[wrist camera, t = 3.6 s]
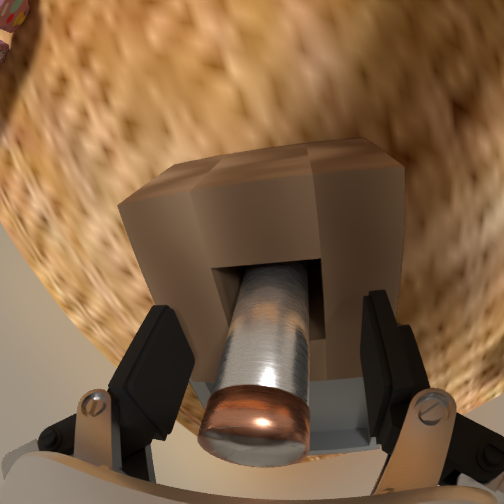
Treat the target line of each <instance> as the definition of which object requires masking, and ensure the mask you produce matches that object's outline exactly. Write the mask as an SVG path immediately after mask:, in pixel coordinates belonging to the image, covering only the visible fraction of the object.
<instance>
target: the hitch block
mask: <svg viewBox="0 0 504 504" xmlns="http://www.w3.org/2000/svg"><path fill="white" fill-rule="evenodd" d="M117 206H118V209H119V212H120V215H121V218H122V220H123V223H124V226H125V229H126V232H127V235H128V237H129V240H130V243H131V245H132V248H133V251H134V253H135V256H136V258H137V261H138V264H139V266H140V269H141V271H142V274H143V276H144V278H145V281H146V283H147V286H148V288H149V290H150V293H151V295H152V298H153V300H154V302H155V304H156V305H168V306H169V307H170V308H171V309H174V311H175V313H176V316H177V318H178V320H179V323H180V325H181V327H182V330H183V332H184V334H185V337H186V339H187V341H188V343H189V346H190V348H191V350H192V352H193V354H194V357H195V364H194V368H193V370H192V373H191V376H190V377H191V379H192V381H193V382H212V383H215V379H216V375H217V372H218V368H219V364H220V361H221V357H222V354H223V350H224V346H225V343H226V339H227V335H228V332H229V328H230V324H231V321H232V317H233V313H234V310H235V306H236V302H237V299H238V295H239V291H240V288H241V284H242V281H243V277H244V273H245V270H246V266H247V265H253V264H264V263H275V262H287V261H297V260H308V259H319V265H309V266H307V269H308V299H309V382H310V381H325V380H337V379H348V378H357V377H363V373H362V367H361V360H360V341H361V327H362V310H363V296H368V293H369V291H374V290H383V289H385V290H386V293H387V296H388V298H389V301H390V304H391V307H392V310H393V313H394V316H395V319H396V313H397V306H398V298H399V290H400V280H401V270H402V258H403V243H404V221H405V167H404V166H403V165H401V164H400V163H399V162H397V161H396V160H395V159H393V158H392V157H391V156H389V155H388V154H387V153H385V152H384V151H383V150H381V149H380V148H378V147H377V146H376V145H374V144H373V143H371V142H370V141H368V140H367V139H365V138H358V139H344V140H332V141H322V142H312V143H303V144H294V145H286V146H278V147H271V148H264V149H257V150H251V151H244V152H238V153H232V154H226V155H221V156H215V157H210V158H205V159H200V160H195V161H190V162H185V163H180V164H175V165H173V166H171V167H170V168H168V169H167V170H166V171H164V172H163V173H161V174H160V175H158V176H157V177H155V178H154V179H153V180H151V181H150V182H148V183H147V184H146V185H144V186H143V187H141V188H140V189H139V190H137V191H136V192H135V193H133V194H132V195H131V196H129V197H128V198H126V199H125V200H124V201H123V202H121V203H120V204H119V205H117Z"/></svg>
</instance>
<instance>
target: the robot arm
mask: <svg viewBox="0 0 504 504" xmlns="http://www.w3.org/2000/svg"><path fill="white" fill-rule="evenodd" d="M360 360H361V367H362V373H363V381H364V388H365V396H366V404H367V413H368V422H369V432H370V437H376V445H377V444H381V446H382V450H383V451H384V452H386V453H387V454H388V455H387V458H386V460H385V463H384V465H383V468H382V470H381V472H380V474H379V477H378V479H377V481H376V483H375V485H374V487H373V490H372V492H371V494H370V496H362V497H351V498H339V499H323V500H268V499H267V500H266V499H251V498H239V497H230V496H221V495H214V494H207V493H201V492H194V491H189V490H184V489H179V488H174V487H169V486H165V485H161V484H156V479H155V473H154V466H153V460H152V452H151V445H150V444H151V442H152V439H157V440H162V441H165V440H166V437H167V434H170V433H171V432H172V429H173V426H174V423H175V420H176V417H177V414H178V411H179V409H180V406H181V403H182V400H183V397H184V394H185V391H186V388H187V385H188V382H189V379H190V376H191V373H192V370H193V368H194V364H195V357H194V354H193V352H192V350H191V348H190V346H189V343H188V341H187V339H186V337H185V334H184V332H183V330H182V327H181V325H180V323H179V320H178V318H177V316H176V313H175V311H174V309H171V308H170V307H169V306H168V305H154V306H152V308H151V309H150V311H149V313H148V314H147V316H146V318H145V320H144V321H143V323H142V325H141V326H140V328H139V330H138V332H137V333H136V335H135V337H134V339H133V341H132V342H131V344H130V346H129V348H128V349H127V351H126V353H125V355H124V357H123V358H122V360H121V362H120V364H119V366H118V368H117V370H116V371H115V373H114V375H113V377H112V379H111V381H110V383H109V384H108V387H109V388H108V390H107V391H105V390H102V389H94V390H91V391H89V392H88V393H86V394H85V395H84V396H83V397H82V398H81V399H80V401H79V403H78V407H77V413H76V414H74V415H72V416H70V417H68V418H66V419H64V420H62V421H60V422H58V423H56V424H53V425H51V426H49V427H48V428H46V429H45V430H44V431H43V432H42V433H41V434H40V436H39V439H38V440H37V439H35V440H33V441H31V442H29V443H27V444H25V445H23V446H21V447H19V448H17V449H15V450H13V451H11V452H9V453H8V454H6V455H5V457H4V458H3V461H2V472H3V477H4V482H3V484H2V486H1V488H0V504H504V437H503V436H502V435H500V434H498V433H495V432H494V431H492V430H490V429H488V428H486V427H484V426H482V425H480V424H478V423H476V422H474V421H472V420H470V419H468V418H466V417H464V416H463V415H461V414H459V413H457V412H456V403H455V400H454V399H453V397H452V396H451V395H450V394H449V393H447V392H446V391H445V390H441V389H438V388H430V385H429V381H428V378H427V375H426V371H425V368H424V365H423V362H422V359H421V355H420V352H419V349H418V346H417V343H416V341H415V338H414V335H413V332H412V329H411V327H410V326H409V325H402V326H398V325H397V322H396V319H395V316H394V313H393V310H392V307H391V304H390V301H389V298H388V296H387V293H386V290H385V289H383V290H374V291H369V293H368V296H363V310H362V327H361V341H360ZM437 485H440V486H437Z"/></svg>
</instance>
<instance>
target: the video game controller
mask: <svg viewBox="0 0 504 504" xmlns="http://www.w3.org/2000/svg"><path fill="white" fill-rule="evenodd" d="M29 9H30V7H29V4H28V0H0V29H3V30H5V31H7V32H9V33H12V32H14V31H15V30H16V29H17V28H18V27H19V26H20V25H21V24H22V23H23V21H24V20H25V18H26V16H27V14H28V12H29ZM8 49H9V45H8V44H6V43H4V42H3V41H1V40H0V65H1V63H2V62H3V60H4V58H5V57H6V54H7V52H8Z"/></svg>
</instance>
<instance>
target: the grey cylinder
mask: <svg viewBox="0 0 504 504" xmlns="http://www.w3.org/2000/svg"><path fill="white" fill-rule="evenodd" d="M310 413H311V412H310V408H309V299H308V269H307V260H297V261H287V262H275V263H264V264H253V265H247V266H246V270H245V273H244V277H243V281H242V284H241V288H240V291H239V295H238V299H237V302H236V306H235V310H234V313H233V317H232V321H231V324H230V328H229V332H228V335H227V339H226V343H225V346H224V350H223V354H222V357H221V361H220V364H219V368H218V372H217V375H216V379H215V383H214V386H213V390H212V394H211V396H210V397H209V399H208V402H207V405H206V409H205V412H204V416H203V420H202V423H201V427H200V430H199V434H198V443H199V444H200V446H201V447H202V448H203V449H204V450H205V451H207V452H208V453H210V454H211V455H213V456H215V457H217V458H220V459H222V460H225V461H228V462H231V463H235V464H239V465H245V466H251V467H281V466H287V465H291V464H295V463H297V462H300V461H301V460H303V459H305V458H306V457H307V456H308V454H309V446H310Z"/></svg>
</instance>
